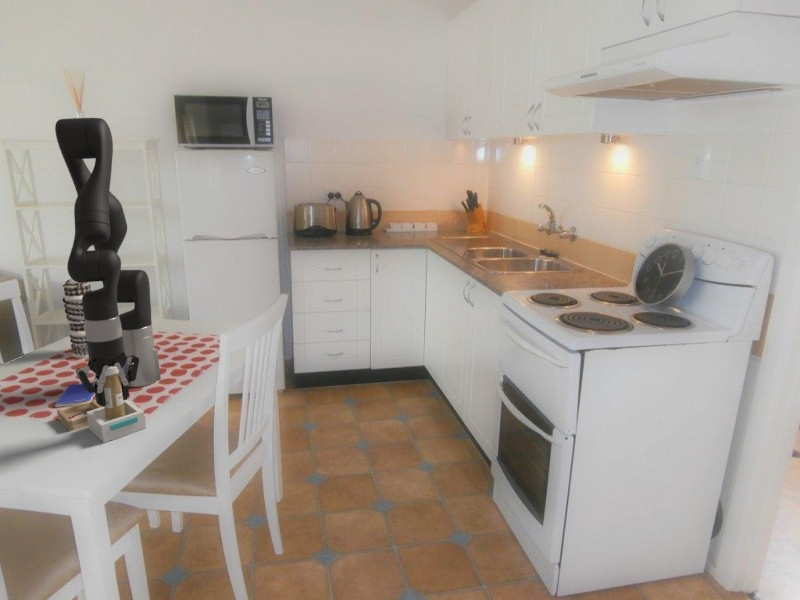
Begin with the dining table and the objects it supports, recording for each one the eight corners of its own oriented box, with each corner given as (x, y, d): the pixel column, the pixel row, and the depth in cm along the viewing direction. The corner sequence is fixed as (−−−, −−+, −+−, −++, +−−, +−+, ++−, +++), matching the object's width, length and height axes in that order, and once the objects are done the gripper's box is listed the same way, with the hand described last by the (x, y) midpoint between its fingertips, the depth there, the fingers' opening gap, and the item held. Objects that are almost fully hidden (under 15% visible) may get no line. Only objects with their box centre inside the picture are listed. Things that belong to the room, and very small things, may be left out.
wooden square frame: (95, 408, 145) (93, 399, 144) (107, 419, 139) (106, 410, 138) (58, 419, 139) (56, 410, 138) (70, 431, 133) (68, 422, 132)
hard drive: (88, 400, 147) (100, 382, 158) (54, 403, 145) (68, 384, 156) (89, 406, 147) (101, 387, 159) (55, 409, 145) (69, 390, 157)
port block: (129, 415, 141) (127, 399, 140) (146, 428, 135) (144, 412, 134) (88, 428, 135) (86, 411, 133) (104, 443, 128) (102, 426, 127)
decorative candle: (90, 359, 178) (79, 283, 171) (64, 357, 179) (52, 282, 172) (108, 349, 186) (99, 277, 180) (84, 347, 188) (73, 276, 181)
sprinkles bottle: (128, 416, 134) (121, 365, 130) (108, 422, 131) (101, 370, 127) (122, 410, 137) (115, 359, 133) (102, 416, 134) (94, 364, 130)
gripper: (129, 325, 136) (137, 389, 140) (64, 338, 126) (75, 407, 130) (142, 332, 131) (149, 398, 135) (76, 346, 121) (86, 417, 125)
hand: (113, 402), depth 133 cm, fingers closed on sprinkles bottle, 4 cm apart
